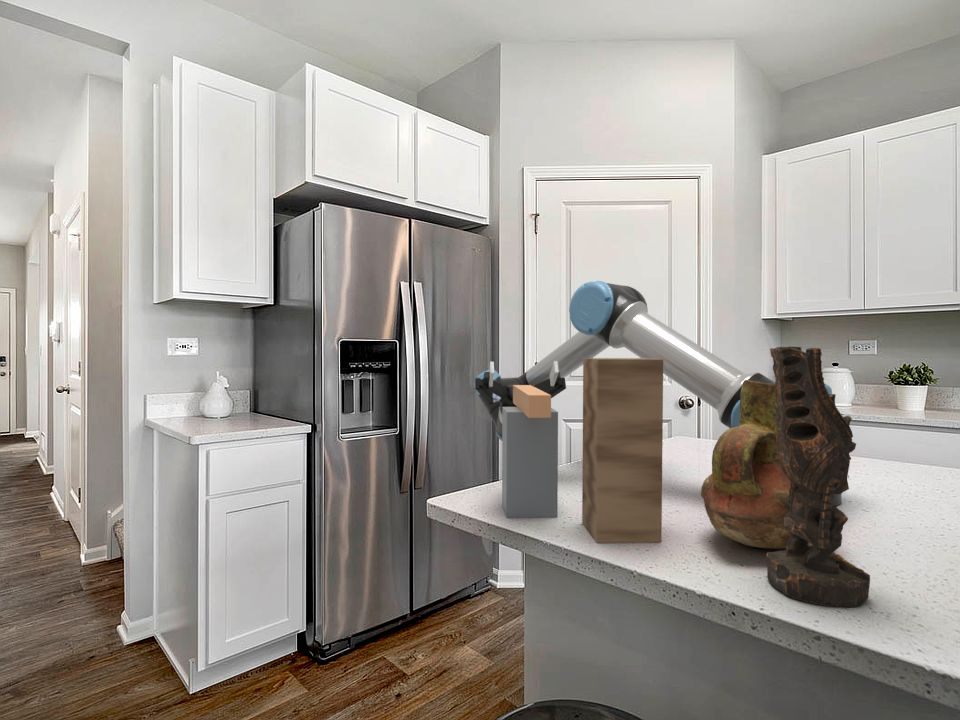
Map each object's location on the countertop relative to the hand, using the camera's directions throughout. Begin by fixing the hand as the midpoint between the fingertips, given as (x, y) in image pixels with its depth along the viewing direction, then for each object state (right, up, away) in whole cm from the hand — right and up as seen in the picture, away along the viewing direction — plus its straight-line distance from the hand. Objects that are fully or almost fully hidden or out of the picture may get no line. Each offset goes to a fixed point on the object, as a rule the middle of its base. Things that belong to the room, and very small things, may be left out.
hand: (524, 366), depth 120 cm
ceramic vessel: (+34, -27, -33) cm, 55 cm away
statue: (+32, -27, -50) cm, 65 cm away
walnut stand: (+13, -26, -28) cm, 41 cm away
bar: (0, -8, -16) cm, 18 cm away
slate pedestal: (0, -26, -16) cm, 31 cm away
